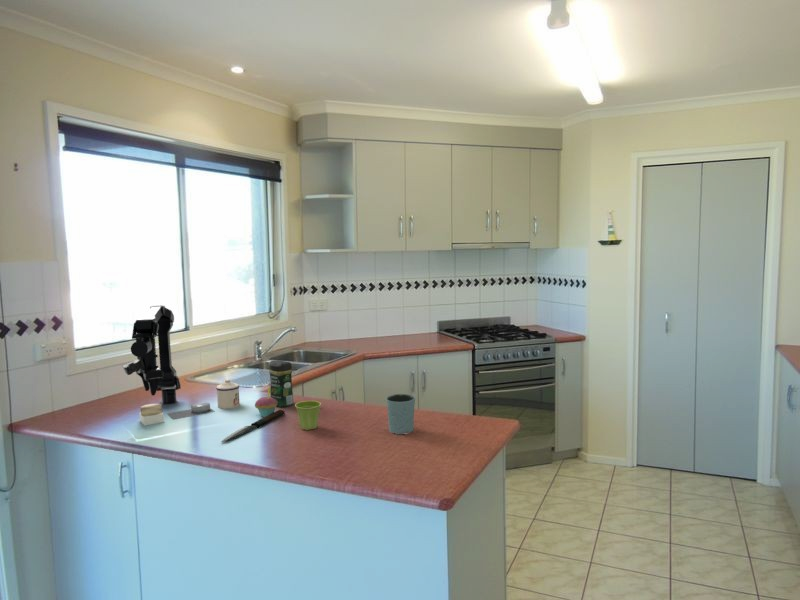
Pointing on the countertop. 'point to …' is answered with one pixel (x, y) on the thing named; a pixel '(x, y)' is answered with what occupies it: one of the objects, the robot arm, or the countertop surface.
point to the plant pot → (308, 414)
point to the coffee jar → (281, 382)
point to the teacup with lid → (228, 395)
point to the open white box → (151, 419)
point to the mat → (185, 414)
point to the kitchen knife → (255, 425)
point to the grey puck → (200, 407)
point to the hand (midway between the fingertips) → (150, 393)
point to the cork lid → (151, 409)
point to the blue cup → (400, 413)
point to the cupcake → (266, 405)
